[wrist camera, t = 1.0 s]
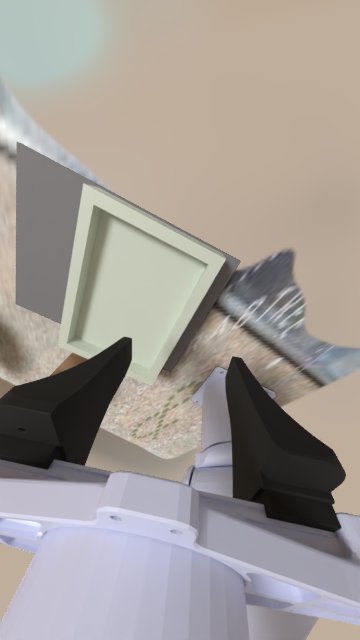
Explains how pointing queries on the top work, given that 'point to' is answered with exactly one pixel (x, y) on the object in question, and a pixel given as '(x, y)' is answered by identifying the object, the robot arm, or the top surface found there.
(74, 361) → the walnut block
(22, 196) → the mat
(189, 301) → the pale green tray
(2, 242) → the top surface
